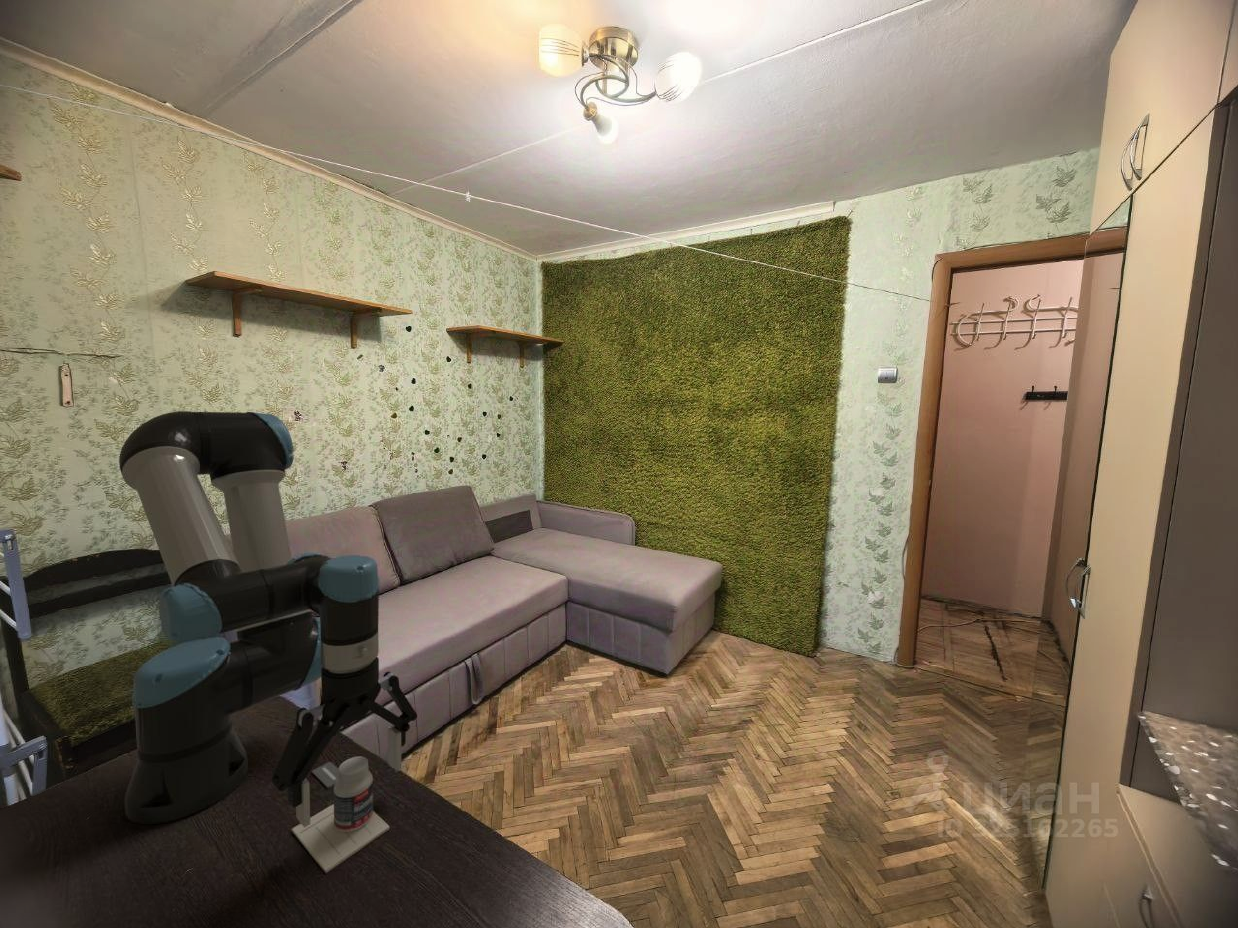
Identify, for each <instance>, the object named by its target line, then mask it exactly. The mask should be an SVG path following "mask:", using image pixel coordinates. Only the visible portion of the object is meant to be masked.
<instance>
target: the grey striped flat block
mask: <svg viewBox="0 0 1238 928" xmlns="http://www.w3.org/2000/svg"><path fill="white" fill-rule="evenodd" d="M338 769H339V767H337V766H336V765H335V764H334V763H333V762H331V761H328V762H326V763H324V764H323V765H321V766H318V767H317V768H315V769H312V770H311V773H312V775H314V776H315V777H316V779H317V780H318V781H320V782H321V783H322V784H323V786H325V788H327V789H330V788H332V787H334V786H335V783H336V781H337V780H338V779H339V778H338Z"/></svg>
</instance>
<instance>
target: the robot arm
mask: <svg viewBox="0 0 1238 928" xmlns="http://www.w3.org/2000/svg"><path fill="white" fill-rule="evenodd" d="M294 450H295V449H294V443H293V439H292V437H291V433H290V431H289V429H288V426H287V425H286V424H285V423H284V421H282V419H280V418H279V417H278V416H276V415H273V414H271V413H262V412H253V411H246V412H232V411H230V412H229V411H228V412H226V411H224V412H223V411H190V410H188V411H187V410H185V411H184V410H179V411H172V412H171V411H170V412H167V413H163V414H159V415H157V416H154V417H152V418H150V419H149V420H147V421H145V422H144V423H142V424H140V425H139V426H138V427H137V428H136V429H135V430H133V431H132V432H131V433H130V434H129V436H128V437H127V438H126V440H125V442H124V443H123V445H122V447H121V449H120V453H119V457H118V458H119V459H118V462H119V463H118V464H119V469H120V473H121V476H122V478H123V481H124V483H125V484H127V486H128V487H130V488H131V489H133V490H135V491H136V492H137V493H138V498H139V500H140V503H141V505H142V507H143V510H144V513H145V516H146V519H147V521H148V524H149V527H150V529H151V532H152V535H153V538H154V539H155V542H156V543H155V544H156V545H157V547H158V550H159V552H160V553H159V554H160V556H161V560H162V561H163V563H164V566H165V569H166V572H167V574H168V577H169V580H170V582H171V583H170V584H171V585H172V586H171V587H168V588H166V589H164V590H163V591H162V592H161V593H160V595H159V599H158V614H159V619H160V624H161V629H162V633H163V635H164V637H165V639H166V640H167V641H169V642H170V643H172V644H176V645H174V646H171V647H169V648H168V649H165V650H163V651H161V652H159V653H157V654H155V655H154V656H153V657H151V658H149V660H147V661H146V662H145V663H143V664H142V665H141V666H140V667H139V668H138V670H137V671H136V673H135V675H134V678H133V683H132V684H133V685H132V687H133V689H132V698H131V704H132V706H133V708H134V717H135V718H134V721H135V733H136V734H135V735H136V736H135V737H136V748H137V750H136V751H137V761H136V764H135V766H134V769H133V771H132V775H131V777H130V781H129V783H128V786H127V788H126V792H125V795H124V811H125V816H126V818H127V819H128V820H129V821H131V822H133V823H135V824H140V825H156V824H158V825H159V824H164V823H169V822H172V821H176V820H180V819H184V818H185V817H188V816H191V815H193V814H195V813H196V814H197V813H198V812H200V811H203V810H204V809H206V808H208V807H211V806H213V805H214V804H216V803H217V802H219V801H220V800H222V799H223V798H225V797H226V796H227V795H229V794H230V793H231V792H233V791H234V790H235V789H236V788H237V786H238V787H239V785H240V784H241V783H242V781H243V780H244V779H245V776H246V775H247V772H248V768H249V767H248V766H249V765H248V754H247V752H246V749H245V747H244V746H243V743H242V742H241V741H240V738H239V737H238V735H237V733H236V731H235V729H234V726H233V724H234V723H233V715H234V714H236V713H238V712H241V711H243V710H247V709H248V708H251V707H254V706H256V705H259V704H262V703H264V702H267V701H270V700H272V699H274V698H276V697H277V698H278V697H280V696H282V695H285V694H287V693H290V692H294V691H299V690H300V689H302V687H305V686H308V685H309V684H312V683H314V682H316V681H318V680H319V679H321V683H320V685H321V697H322V698H321V701H320V703H319V705H317V706H315V707H312V708H308V709H307V708H306V707H301V708H299V709H298V710H297V712H296V718H295V725H294V728H293V729H292V732H291V735H290V737H289V738H288V741H287V744H286V746H285V747H284V750H283V752H282V753H281V754H282V755H281V757H280V759H279V761H278V763H277V765H276V768H275V770H274V772H273V774H272V776H271V779H270V780H271V782H272V784H273V785H274V786H275V788H276V789H277V790H278V791H279V792H283V791H284V790H286V789H287V801H288V802H289V803H290V805H291V806H292V807H293V808H295V816H296V817H295V818H296V819H297V820H298V821H299V824H302V825H303V827H304V828H305V827H306V826H308V825H310V818H311V803H310V802H311V799H310V798H311V797H310V794H311V793H310V781H309V780H308V779H307V777H308V775H309V773H310V772H311V771H312V770H313V769H312V768H314V766H315V764H316V763H317V761H318V760H319V757H320V756H321V754H322V753H323V751H324V750H325V748H326V747H327V746H328V744H329V742H331V741H330V740H331V739H332V738H333V737H336V735H337V734H338V732H339V731H340V729H341V728H342V727H343V728H346V727H347V726H350V725H351V724H352V723H354V722H355V721H360V720H362V719H364V718H366V715H367V714H368V713H369V712H371V713H373V714H375V715H376V716H378V717H380V718H381V719H383V720H385V721H386V722H387V723H389V724H391V725H390V726H388V727H387V764H388V765H389V767H390V768H392V769H393V768H394V769H395V770H394V769H393V770H394V771H396V770H397V771H396V772H399V771H401V770H402V747H404V746H405V744H406V742H407V741H406V740H407V739H406V737H407V736H406V733H407V732H409V730H410V728H411V725H410V724H409V723H410V722H414V721H415V720H417V718H418V714H417V712H416V710H415V708H414V707H413V706H412V705H411V703H410V702H409V700H408V698H407V697H406V695H405V694H404V692H403V690H402V689H401V688H400V687H401V686H400V680H399V677H398V676H397V675H395V674H394V673H392V672H391V671H386V672H384V673H383V676H382V678H380V660H379V657H378V656H379V653H380V652H379V650H380V648H379V608H380V607H379V605H380V604H379V602H380V600H379V597H380V584H381V583H380V578H379V572H378V563H377V561H376V560H375V559H374V558H373V557H370V556H368V555H359V554H358V555H357V554H351V555H343V556H342V555H341V556H337V557H330V556H327V555H325V554H324V555H323V554H320V553H315V552H304V553H301V554H298V555H296V556H294V557H293V558H292V556H293V555H292V550H291V547H290V546H291V545H290V541H289V540H290V539H289V534H288V530H287V525H286V520H285V514H284V509H283V508H284V507H283V504H282V498H281V492H280V488H279V486H280V483H281V482H282V481H283V480H284V478H285V477H286V475H287V474H286V470H289V469H290V467H292V465H293V463H294V459H295V456H294V453H293V452H294ZM198 475H199V476H200V475H209V479H210V484H211V486H212V487H214V488H215V489H217V490H220V491H221V492H222V493H223V499H224V503H225V504H224V505H225V509H226V514H227V521H228V527H229V533H230V539H231V545H232V547H231V545H230V543H229V540H228V539H227V536H226V534H225V532H224V530H223V528H222V526H221V523H220V522H219V521H220V520H219V519H218V517H217V514H216V513H215V511H214V509H213V506H212V504H211V502H210V500H209V498H208V496H207V494H206V493H207V492H206V491H205V489H204V487H203V485H202V484H201V480H200V479H199V477H198ZM313 612H314V613H316V614H318V615H319V617H316V616H314V617H313ZM234 630H235V634H236V639H237V640H235V641H231V642H229V641H228V640H227V639H226V638H224V637H220V636H218V635H221V634H223V633H228V632H231V631H234ZM382 689H383V690H384V691H385V692H387V694H388V695H389V696H390V698H391V699H392V700H393V703H394V704H395V706H396V707H397V708H398V710H399V711H400V712H401V715H397V714H396V713H394V712H392V711H391V710H389V709H387V708H386V707H384V706H383V705H381V704H380V703H378V702H376V700H377V699H378V696H379V694H380V692H381V690H382ZM321 716H322V717H321ZM320 717H321V718H320ZM319 718H320V720H319V721H318V719H319ZM330 722H331V723H332V724H331V725H330ZM314 726H317V727H316V730H315V731H314V732H313V734H312V731H313V729H314V728H313V727H314ZM311 734H312V736H311Z"/></svg>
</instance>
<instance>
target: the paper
mask: <svg viewBox="0 0 1238 928" xmlns="http://www.w3.org/2000/svg"><path fill="white" fill-rule="evenodd" d="M389 830H390V826H389V825H388V823H387V822H385V821H384V820H383V819H382V818H381V817H380V816H379V815H378V814H377V813H376V812H375V811H374V810H373V815H372V817H371V819H370V820H369V822H368V823H367V824H366V825H364V826H363V827H362V828H360V829H358V830H356V831H353V832H340V831H338V830H337V829H336V828H335V826H334V803H333V804H331V805H329V806H327V807H326V808H324V809H323V810H321V811H320V812H318V813H316V814H314V815H313V816H310V825H308V826H306V827H305V828H304V827H303V825H302V824H301V823H299V824H298V825H296V826H294V827H293V828H291V832H292V833H293V834H294V835H295V837H296V838H297V840H298V841H299V842H300V843H301V845H303V847H304V848H305V849H306V851H308V853H309V854H310V856H311V857H312V858H313V859H314V860H315V862H316V863H317V864H318V865H319V867H320V868H321V869H322V870H323V872H325V874H327V873H329V872H330V871H331V870H333V869H334V868H336V867H337V866H339V865H340V864H342V863H343V862H344V861H346V860H347V859H348V858H350V857H351V856H353V855H354V854H356V853H357V852H358V851H360V850H361V849H363V848H364V847H366V846H367V845H368V844H370V843H372V842H373V841H374V840H376V839H377V838H378V837H380V836H382V835H383V834H384V833H386V832H387V831H389Z"/></svg>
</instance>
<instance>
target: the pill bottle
mask: <svg viewBox="0 0 1238 928" xmlns="http://www.w3.org/2000/svg"><path fill="white" fill-rule="evenodd" d="M338 778H339V779H338V780H337V781H336V783H335V785H334V786H333V804H334V826H335V828H336V829H337V830H338V831H340V832H353V831H356V830H358V829H360V828H362V827H363V826H364V825H366V824H367V823H368V822H369V820H370V819H371V817H372V815H373V811H374V782H373V781H374V779H373V778H374V777H373V774H372V772H371V771H370V770H369V760H368V759H367V758H366V757H365V756H359V755H358V756H353V757H350V758H348V759H346V760H345V761H343V762H342V763H341V764H340V765H339V766H338Z"/></svg>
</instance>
